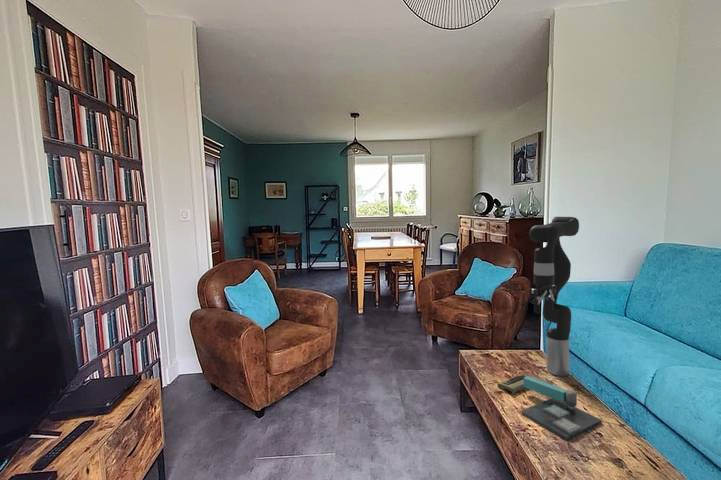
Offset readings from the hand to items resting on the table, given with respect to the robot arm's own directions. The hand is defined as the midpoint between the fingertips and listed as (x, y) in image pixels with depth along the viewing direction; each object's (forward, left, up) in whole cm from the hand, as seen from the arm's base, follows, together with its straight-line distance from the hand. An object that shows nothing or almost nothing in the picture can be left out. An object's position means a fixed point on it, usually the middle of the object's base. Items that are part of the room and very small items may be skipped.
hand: (543, 311), depth 141 cm
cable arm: (+4, +5, -33) cm, 34 cm away
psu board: (+10, +14, -36) cm, 40 cm away
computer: (+4, -10, -37) cm, 38 cm away
